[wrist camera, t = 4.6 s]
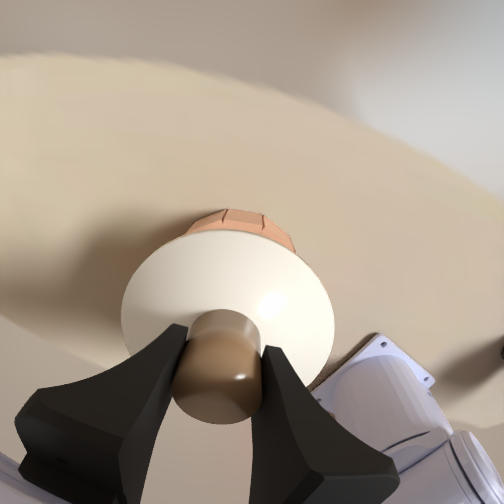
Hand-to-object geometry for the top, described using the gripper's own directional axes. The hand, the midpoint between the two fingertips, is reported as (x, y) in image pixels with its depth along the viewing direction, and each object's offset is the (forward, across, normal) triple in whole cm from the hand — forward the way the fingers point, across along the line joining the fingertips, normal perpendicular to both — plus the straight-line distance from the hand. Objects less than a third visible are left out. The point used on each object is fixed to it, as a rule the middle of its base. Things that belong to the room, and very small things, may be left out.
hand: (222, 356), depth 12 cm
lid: (+2, 0, 0) cm, 2 cm away
